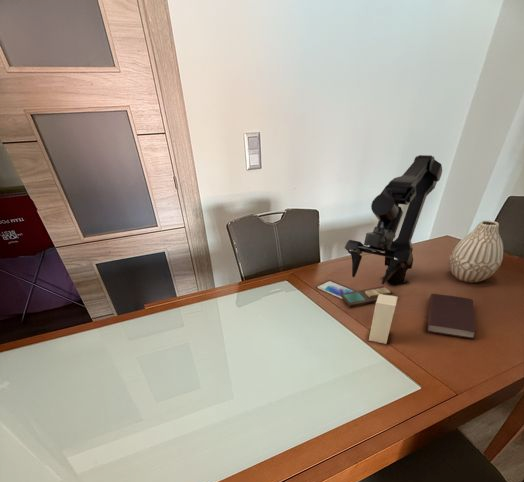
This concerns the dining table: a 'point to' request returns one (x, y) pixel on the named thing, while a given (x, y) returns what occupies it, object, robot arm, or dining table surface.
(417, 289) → the dining table surface
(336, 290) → the smartphone
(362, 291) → the word board
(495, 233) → the vase
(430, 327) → the book
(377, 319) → the letter I
